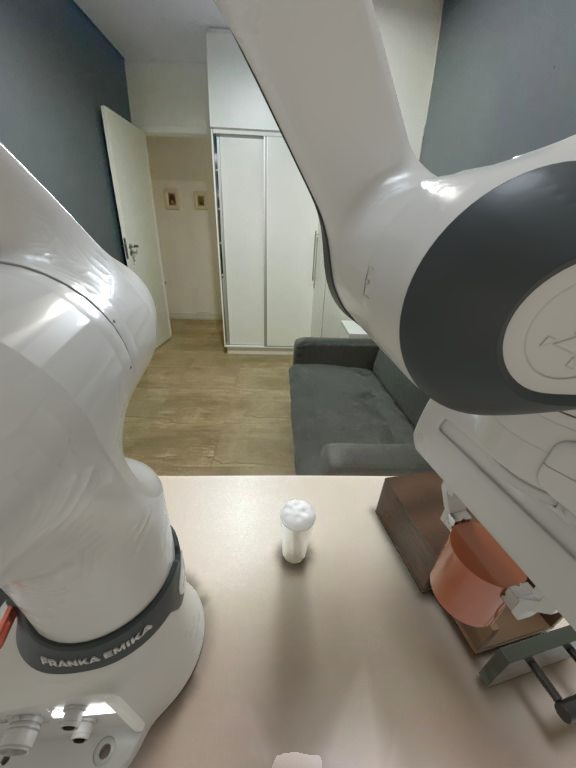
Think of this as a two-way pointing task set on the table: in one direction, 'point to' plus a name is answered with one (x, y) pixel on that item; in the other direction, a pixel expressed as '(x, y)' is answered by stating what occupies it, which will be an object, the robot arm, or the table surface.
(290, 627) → the table surface
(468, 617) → the orange cylinder puck
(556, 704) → the drawer
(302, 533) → the milkshake
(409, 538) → the cabinet
